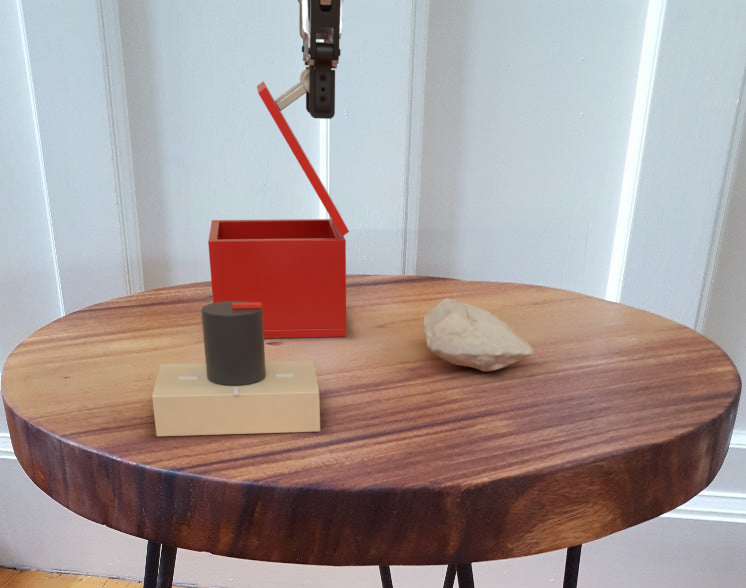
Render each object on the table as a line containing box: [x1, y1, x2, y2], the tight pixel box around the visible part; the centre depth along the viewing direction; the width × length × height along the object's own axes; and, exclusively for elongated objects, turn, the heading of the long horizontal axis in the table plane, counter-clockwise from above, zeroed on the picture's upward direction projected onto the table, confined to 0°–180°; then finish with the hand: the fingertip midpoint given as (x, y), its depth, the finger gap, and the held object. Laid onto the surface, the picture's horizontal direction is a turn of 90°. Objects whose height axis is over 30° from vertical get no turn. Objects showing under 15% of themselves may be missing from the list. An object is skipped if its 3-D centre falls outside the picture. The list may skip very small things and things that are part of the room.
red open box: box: [207, 218, 347, 339], centre depth 95 cm, size 13×12×9 cm
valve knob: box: [200, 301, 266, 385], centre depth 71 cm, size 4×4×5 cm
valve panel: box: [151, 360, 321, 437], centre depth 73 cm, size 12×9×3 cm
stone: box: [423, 297, 534, 372], centre depth 86 cm, size 9×13×5 cm
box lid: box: [256, 68, 350, 237], centre depth 89 cm, size 13×12×5 cm
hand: (319, 114), depth 88 cm, fingers closed on box lid, 5 cm apart
